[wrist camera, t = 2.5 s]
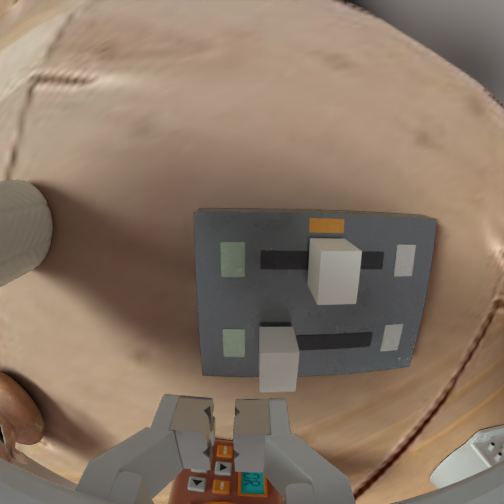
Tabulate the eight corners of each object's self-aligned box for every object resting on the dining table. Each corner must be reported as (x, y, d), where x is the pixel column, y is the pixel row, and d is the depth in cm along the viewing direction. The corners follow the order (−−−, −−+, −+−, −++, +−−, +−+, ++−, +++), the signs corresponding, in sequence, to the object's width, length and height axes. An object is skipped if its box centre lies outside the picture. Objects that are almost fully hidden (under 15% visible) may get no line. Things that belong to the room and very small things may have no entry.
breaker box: (421, 214, 28) (437, 219, 25) (399, 353, 32) (409, 367, 29) (199, 208, 28) (193, 212, 25) (206, 359, 32) (202, 376, 29)
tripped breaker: (344, 238, 25) (361, 251, 21) (340, 284, 26) (356, 303, 22) (309, 238, 25) (321, 250, 21) (307, 284, 26) (317, 304, 22)
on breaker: (293, 326, 27) (299, 352, 23) (290, 363, 28) (295, 391, 24) (259, 326, 27) (260, 352, 23) (258, 363, 28) (259, 392, 24)
